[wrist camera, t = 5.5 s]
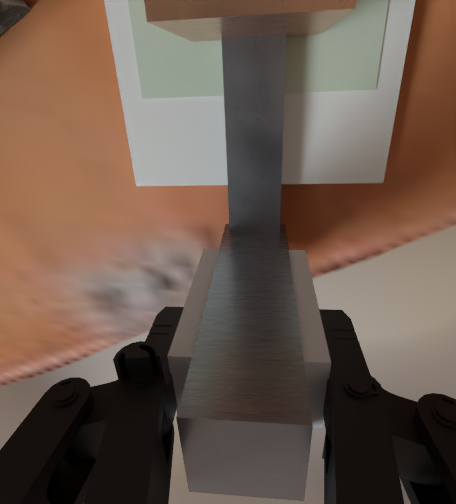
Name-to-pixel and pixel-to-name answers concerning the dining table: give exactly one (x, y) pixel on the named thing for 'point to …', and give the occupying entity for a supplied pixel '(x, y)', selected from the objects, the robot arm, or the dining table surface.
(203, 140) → the white flat panel
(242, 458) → the grey l-shaped piece
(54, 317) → the dining table surface
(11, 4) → the stone block
